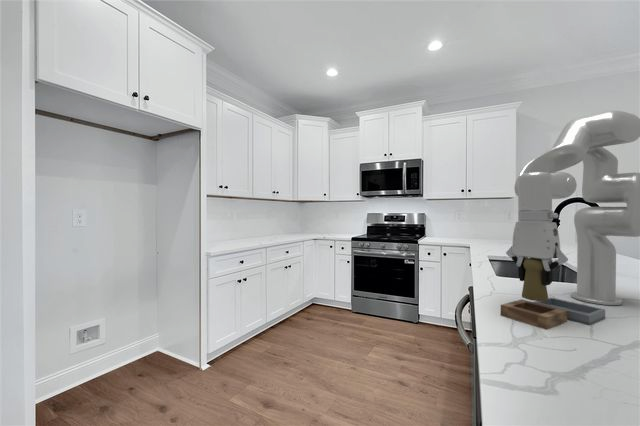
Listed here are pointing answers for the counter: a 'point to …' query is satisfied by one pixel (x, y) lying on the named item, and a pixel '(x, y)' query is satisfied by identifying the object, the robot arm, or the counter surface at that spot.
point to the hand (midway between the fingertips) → (534, 281)
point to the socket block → (534, 313)
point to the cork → (534, 280)
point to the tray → (576, 311)
